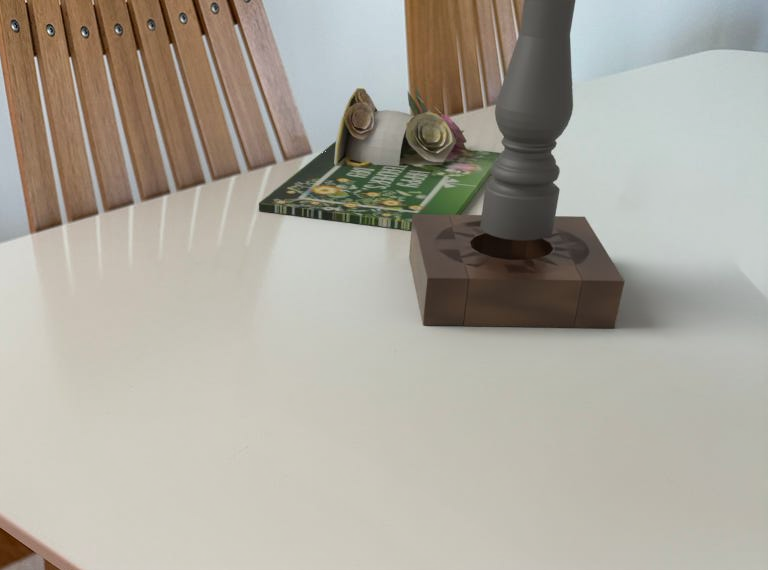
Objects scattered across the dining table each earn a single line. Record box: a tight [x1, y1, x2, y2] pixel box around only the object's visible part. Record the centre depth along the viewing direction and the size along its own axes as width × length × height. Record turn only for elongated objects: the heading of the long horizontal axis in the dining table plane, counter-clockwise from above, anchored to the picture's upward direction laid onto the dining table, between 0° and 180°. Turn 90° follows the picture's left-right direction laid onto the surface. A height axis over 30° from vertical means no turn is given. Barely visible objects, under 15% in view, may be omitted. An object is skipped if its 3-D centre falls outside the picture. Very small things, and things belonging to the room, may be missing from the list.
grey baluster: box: [480, 0, 576, 240], centre depth 82 cm, size 6×6×25 cm
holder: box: [408, 214, 625, 329], centre depth 92 cm, size 16×16×4 cm
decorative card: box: [258, 84, 502, 231], centre depth 116 cm, size 33×8×20 cm
